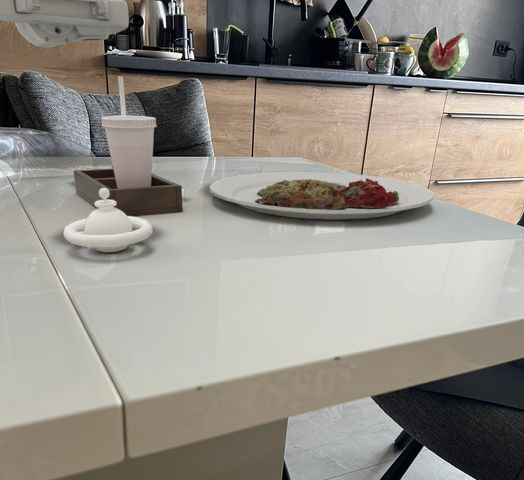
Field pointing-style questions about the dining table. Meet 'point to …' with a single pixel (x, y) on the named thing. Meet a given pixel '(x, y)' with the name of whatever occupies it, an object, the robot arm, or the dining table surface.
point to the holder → (130, 193)
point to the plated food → (321, 194)
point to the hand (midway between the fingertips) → (69, 4)
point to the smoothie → (130, 145)
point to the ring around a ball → (107, 227)
